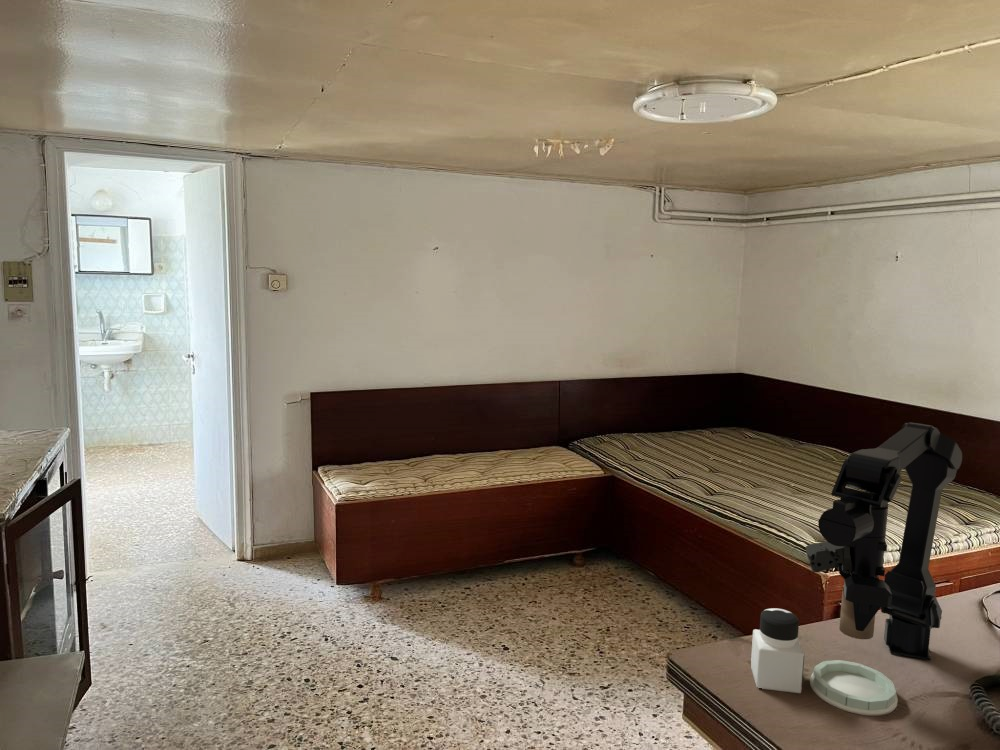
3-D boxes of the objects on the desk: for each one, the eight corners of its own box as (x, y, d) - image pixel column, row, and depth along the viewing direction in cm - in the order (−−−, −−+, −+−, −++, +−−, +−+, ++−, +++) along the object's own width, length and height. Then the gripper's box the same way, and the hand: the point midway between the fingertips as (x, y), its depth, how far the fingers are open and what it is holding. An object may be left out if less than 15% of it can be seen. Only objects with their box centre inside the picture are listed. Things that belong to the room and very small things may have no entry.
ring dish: (890, 679, 121) (891, 667, 121) (903, 723, 109) (905, 710, 109) (808, 664, 126) (808, 653, 126) (812, 704, 114) (813, 692, 114)
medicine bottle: (802, 694, 117) (807, 625, 115) (756, 689, 118) (760, 621, 116) (793, 671, 124) (798, 606, 122) (750, 666, 125) (754, 602, 123)
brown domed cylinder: (871, 627, 118) (874, 587, 117) (875, 641, 113) (879, 600, 112) (838, 622, 120) (841, 582, 119) (840, 635, 115) (844, 594, 114)
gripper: (808, 508, 125) (802, 591, 128) (814, 544, 108) (806, 640, 110) (878, 516, 122) (871, 602, 124) (896, 555, 104) (887, 654, 106)
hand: (857, 623), depth 116 cm, fingers closed on brown domed cylinder, 5 cm apart
